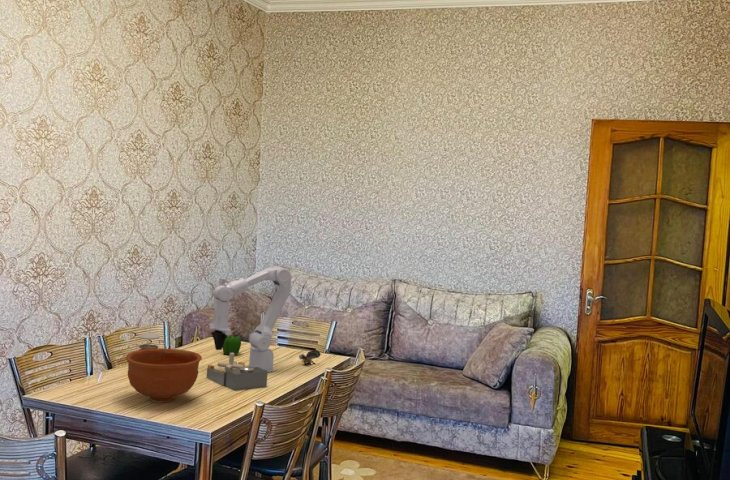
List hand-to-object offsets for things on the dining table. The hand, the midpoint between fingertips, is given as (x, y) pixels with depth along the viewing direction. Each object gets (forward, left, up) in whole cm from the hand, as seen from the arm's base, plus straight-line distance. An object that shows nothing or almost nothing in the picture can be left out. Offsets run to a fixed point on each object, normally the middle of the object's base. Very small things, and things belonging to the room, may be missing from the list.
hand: (218, 349), depth 284 cm
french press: (+23, -12, -10) cm, 28 cm away
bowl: (+35, +26, -10) cm, 45 cm away
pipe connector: (0, +10, -10) cm, 14 cm away
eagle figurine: (-44, +1, -10) cm, 45 cm away
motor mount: (0, +16, -9) cm, 18 cm away
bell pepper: (-22, -28, -10) cm, 37 cm away
